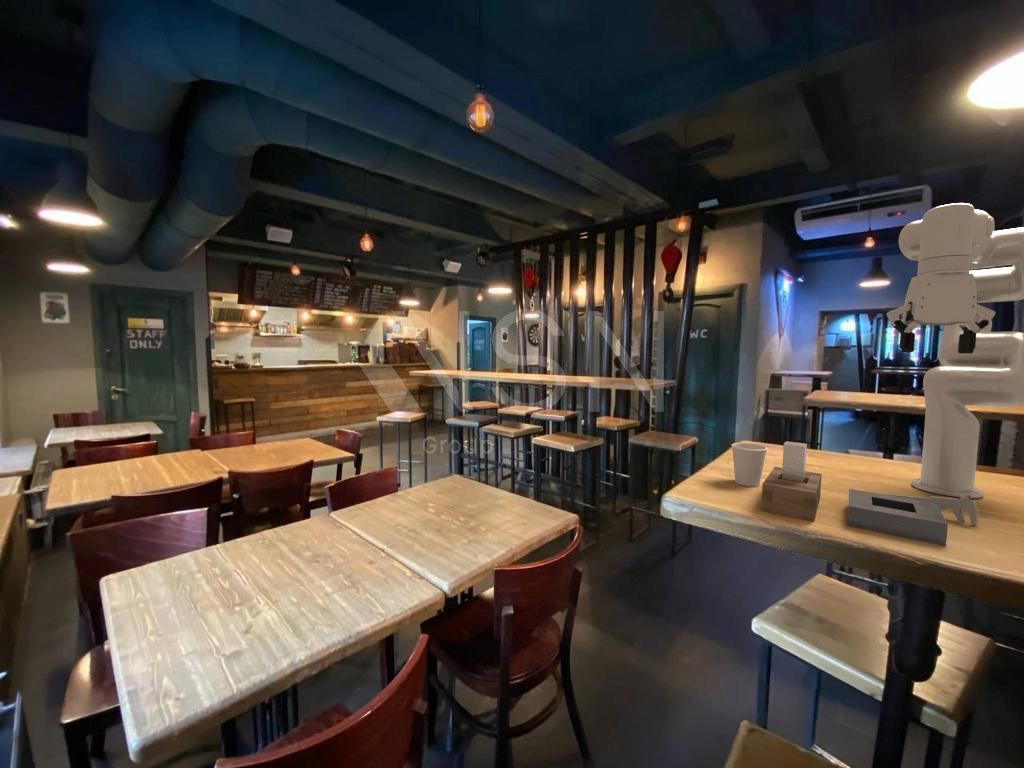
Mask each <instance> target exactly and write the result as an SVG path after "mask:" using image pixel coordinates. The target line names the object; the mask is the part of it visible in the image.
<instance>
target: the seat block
mask: <svg viewBox="0 0 1024 768" xmlns="http://www.w3.org/2000/svg"><path fill="white" fill-rule="evenodd" d="M848 489H849V490H848V501H847V503H848V504H847V518H846V520H847V521H846V526H849V527H854V528H858V529H863V530H867V531H873V532H878V533H883V534H887V535H892V536H896V537H901V538H907V539H910V540H911V539H912V540H915V541H916V540H917V541H921V542H926V543H931V544H936V545H940V546H947V541H948V540H947V538H948V528H949V527H948V526H949V524H948V522H947V519H946V518H945V517H944V514H943V513H942V510H940V508H939V507H938V505H937V503H934V502H928V501H922V500H916V499H910V498H903V497H897V496H891V495H885V494H879V493H880V492H876V493H873V492H874V491H868V490H867V491H865V490H860V489H854V488H848Z"/></svg>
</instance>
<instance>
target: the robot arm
mask: <svg viewBox="0 0 1024 768" xmlns="http://www.w3.org/2000/svg"><path fill="white" fill-rule="evenodd" d="M995 226H996V224H995V219H994V217H993V216H991V215H990V214H989V213H988V212H986V211H984V210H982V209H981V210H980V209H975V207H974V206H973V205H972V204H970V203H964V202H958V203H949V204H944V205H939V206H936V207H933V208H931V209H929V210H928V211H926V212H925V213H924V214H923V216H922V218H921V219H920V220H915V221H912V222H909V223H907V224H906V225H905V226H904V227H903V228H902V229H901V231H900V233H899V235H898V245H899V247H898V248H899V250H900V252H901V253H902V255H903V256H904V257H905V258H906V259H909V260H910V261H917V262H918V263H917V273H916V274H917V276H914V277H912V278H911V280H910V281H909V282H910V283H909V285H908V289H907V292H906V296H905V300H904V305H902V306H900V307H897V308H894V309H893V310H891V311H888V312H886V317H887V318H888V320H889V322H890V324H891V325H890V326H892V327H893V328H894V329H895V330H896V331H897V333H898V334H900V336H899V349H900V352H901V353H902V354H903V353H905V354H906V353H914V351H915V343H916V342H915V341H916V333H915V332H913V331H914V330H915V329H916V328H917V327H919V326H944V327H943V331H942V335H941V339H940V344H939V349H938V361H939V363H940V364H941V365H939V366H935V367H932V368H930V369H928V370H927V371H926V372H925V374H924V375H923V381H922V385H923V392H924V393H923V394H924V401H925V402H924V404H925V416H924V431H923V441H922V455H921V465H920V467H921V468H920V477H918V478H914V479H912V480H911V486H912V487H915V488H916V489H919V490H921V491H925V492H929V493H932V494H937V495H943V496H947V497H952V498H954V497H955V498H959V494H962V495H963V496H964V497H965V498H966V496H967V495H970V497H971V499H980V498H983V497H984V491H982V489H980V488H978V487H976V486H975V481H976V480H975V479H976V472H977V471H976V470H977V462H978V461H977V460H978V451H979V450H978V449H979V438H980V428H981V427H980V422H979V420H978V418H977V417H976V416H975V414H973V413H972V412H971V411H970V410H969V409H968V408H967V407H966V406H980V407H981V406H982V407H995V408H996V407H997V408H1016V407H1018V408H1019V407H1020V406H1023V405H1024V332H1020V331H992V327H993V321H992V319H993V318H994V317H995V316H996V311H995V310H993V309H990V308H988V307H985V306H984V305H983V306H982V305H980V303H985V304H986V303H996V302H997V303H999V302H1014V301H1021V300H1024V227H1016V228H1009V229H1002V230H1001V229H1000V230H995ZM1002 266H1005V267H1002ZM1006 266H1008V267H1006ZM993 267H994V268H993ZM995 267H996V268H995ZM997 267H998V268H997ZM984 268H989V269H984ZM975 269H977V270H975ZM978 269H979V270H978ZM901 314H902V320H901V319H900V315H901Z"/></svg>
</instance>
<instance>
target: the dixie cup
mask: <svg viewBox="0 0 1024 768" xmlns="http://www.w3.org/2000/svg"><path fill="white" fill-rule="evenodd" d="M731 448H732V449H731V450H732V457H733V458H732V460H733V469H734V481H735V483H736V482H737V483H736V484H738V483H739V484H738V485H740V484H742V485H741V486H744V485H747V486H746V487H752V486H755V487H759V486H760V485H761V479H762V475H763V469H764V466H765V459H766V454H767V451H768V447H767V446H765V445H762V444H757V443H751V442H735V443H732V444H731ZM758 485H759V486H758Z"/></svg>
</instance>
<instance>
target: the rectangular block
mask: <svg viewBox="0 0 1024 768" xmlns="http://www.w3.org/2000/svg"><path fill="white" fill-rule="evenodd" d="M807 444H808V443H804V442H803V443H802V442H796V441H795V442H794V441H785V442H784V443H783V451H782V466H781V468H782V480H787V481H793V482H799V483H805V471H806V465H807V463H806V462H807V447H808V445H807Z"/></svg>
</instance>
